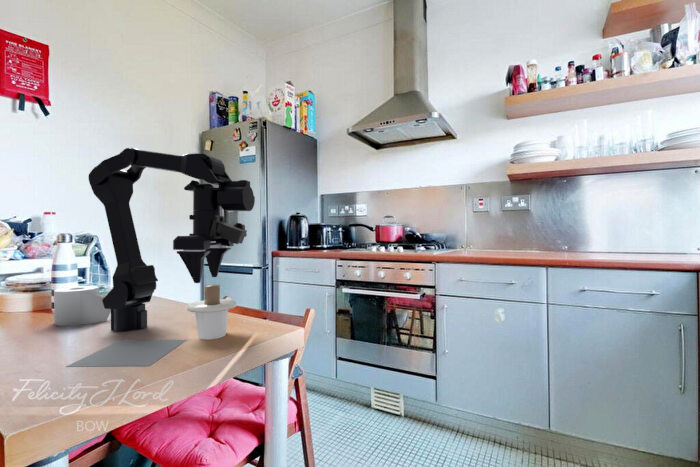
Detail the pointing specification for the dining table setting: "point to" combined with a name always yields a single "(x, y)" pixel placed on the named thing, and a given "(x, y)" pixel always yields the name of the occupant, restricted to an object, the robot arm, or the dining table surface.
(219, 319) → the white cup
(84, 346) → the dining table surface
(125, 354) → the mat
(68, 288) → the toilet tissue
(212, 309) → the lid
